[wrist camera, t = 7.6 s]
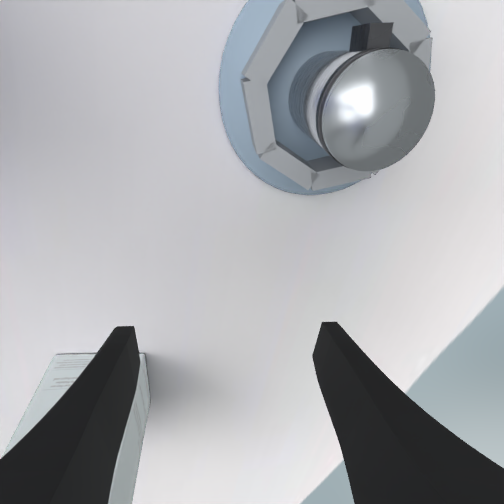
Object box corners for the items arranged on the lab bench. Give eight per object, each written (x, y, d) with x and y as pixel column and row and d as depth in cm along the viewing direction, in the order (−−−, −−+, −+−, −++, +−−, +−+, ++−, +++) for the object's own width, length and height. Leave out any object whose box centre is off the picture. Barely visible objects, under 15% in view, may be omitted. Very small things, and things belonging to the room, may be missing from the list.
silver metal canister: (285, 139, 17) (317, 175, 12) (289, 32, 14) (332, 21, 9) (357, 136, 17) (417, 169, 12) (374, 30, 15) (460, 18, 10)
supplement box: (52, 352, 25) (-65, 570, 14) (146, 351, 26) (102, 553, 16) (70, 404, 29) (-12, 605, 18) (151, 401, 30) (118, 590, 19)
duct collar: (191, -14, 14) (186, -28, 11) (435, -74, 13) (482, -101, 11) (243, 206, 20) (247, 227, 17) (411, 168, 19) (438, 183, 17)
